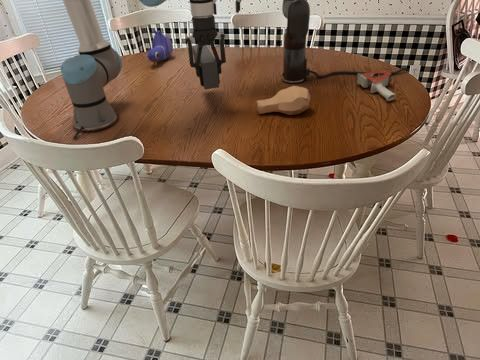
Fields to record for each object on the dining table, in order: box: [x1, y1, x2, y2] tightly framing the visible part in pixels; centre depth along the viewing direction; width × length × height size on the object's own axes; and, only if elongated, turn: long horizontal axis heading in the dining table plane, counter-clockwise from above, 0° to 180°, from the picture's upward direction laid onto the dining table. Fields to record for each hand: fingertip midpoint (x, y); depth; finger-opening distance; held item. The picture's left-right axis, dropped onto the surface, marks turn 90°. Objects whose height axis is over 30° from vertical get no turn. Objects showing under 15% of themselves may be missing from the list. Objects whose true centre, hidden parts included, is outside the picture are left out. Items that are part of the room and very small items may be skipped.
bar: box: [192, 44, 220, 90], centre depth 135 cm, size 23×5×9 cm, turn 14°
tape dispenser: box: [356, 69, 397, 102], centre depth 142 cm, size 18×5×20 cm
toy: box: [146, 29, 174, 67], centre depth 185 cm, size 10×17×25 cm
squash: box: [255, 85, 312, 116], centre depth 130 cm, size 11×20×9 cm, turn 92°
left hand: (210, 83), depth 131 cm, fingers closed on bar, 5 cm apart
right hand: (226, 13), depth 134 cm, fingers open, 8 cm apart
